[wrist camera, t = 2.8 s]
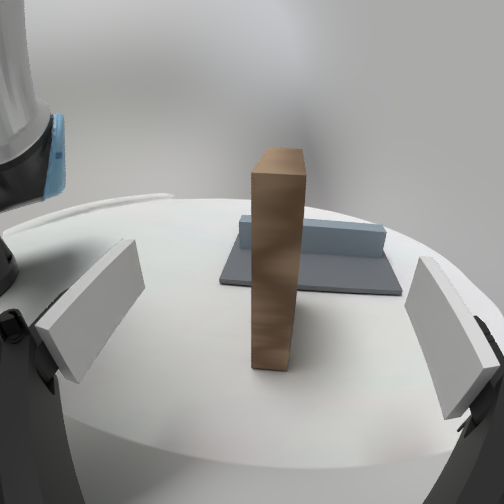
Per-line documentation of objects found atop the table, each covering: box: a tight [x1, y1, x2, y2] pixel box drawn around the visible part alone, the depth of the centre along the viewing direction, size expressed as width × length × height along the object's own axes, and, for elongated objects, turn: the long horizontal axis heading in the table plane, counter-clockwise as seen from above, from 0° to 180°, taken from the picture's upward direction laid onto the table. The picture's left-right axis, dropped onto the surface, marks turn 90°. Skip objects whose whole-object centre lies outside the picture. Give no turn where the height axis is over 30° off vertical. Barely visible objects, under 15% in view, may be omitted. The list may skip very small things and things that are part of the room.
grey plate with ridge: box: [219, 215, 402, 295], centre depth 40 cm, size 22×18×5 cm
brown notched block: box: [251, 148, 306, 371], centre depth 24 cm, size 3×10×16 cm, turn 172°
